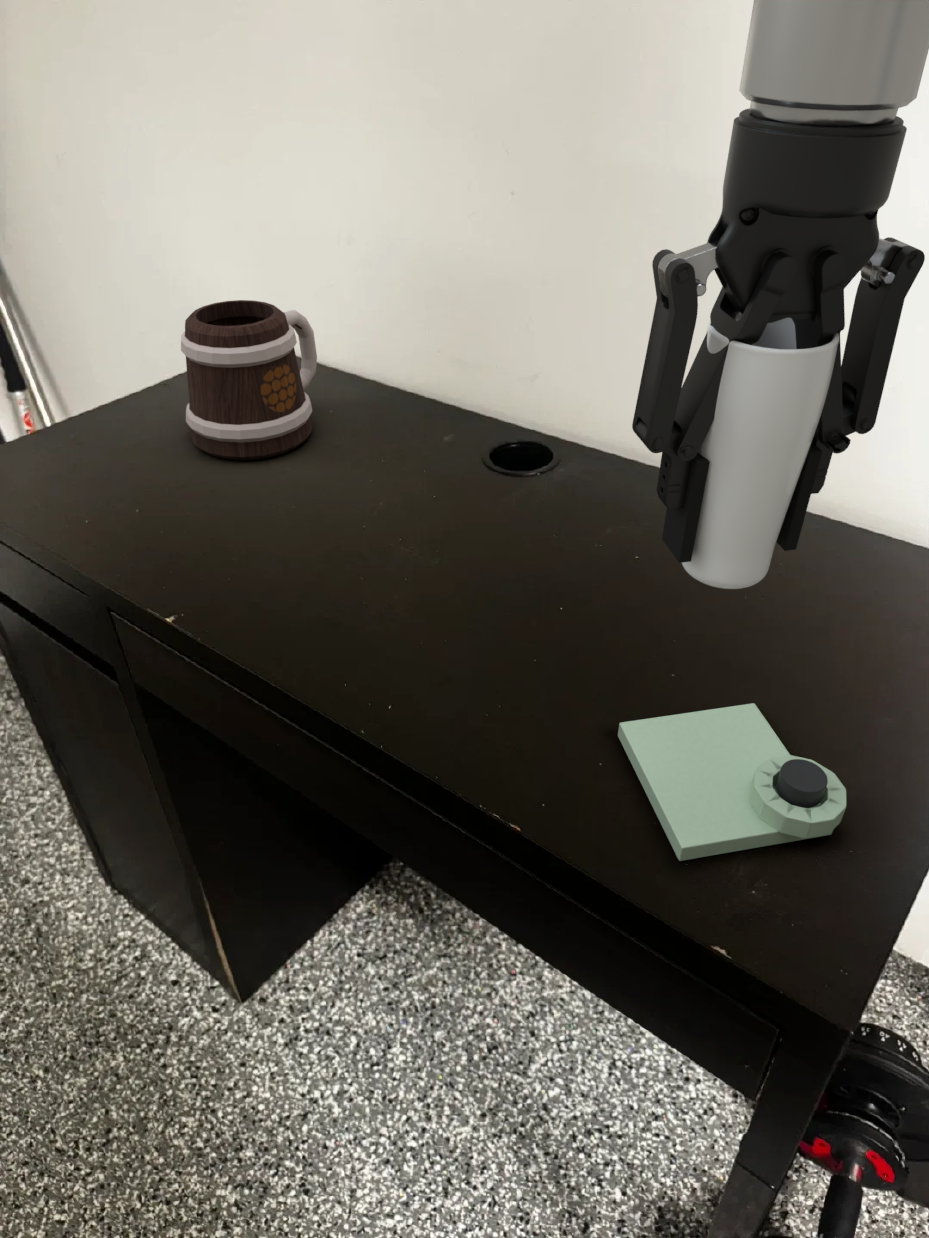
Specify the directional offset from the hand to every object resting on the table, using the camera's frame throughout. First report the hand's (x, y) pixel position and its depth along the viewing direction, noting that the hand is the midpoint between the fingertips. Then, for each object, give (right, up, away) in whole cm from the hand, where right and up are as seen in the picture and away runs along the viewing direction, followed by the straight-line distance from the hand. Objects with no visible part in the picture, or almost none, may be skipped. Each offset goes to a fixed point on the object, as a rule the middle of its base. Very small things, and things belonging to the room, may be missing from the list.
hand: (728, 543), depth 54 cm
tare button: (+6, -16, +6) cm, 18 cm away
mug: (-41, +19, +57) cm, 73 cm away
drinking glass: (0, -2, +1) cm, 2 cm away
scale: (+2, -16, +10) cm, 19 cm away
